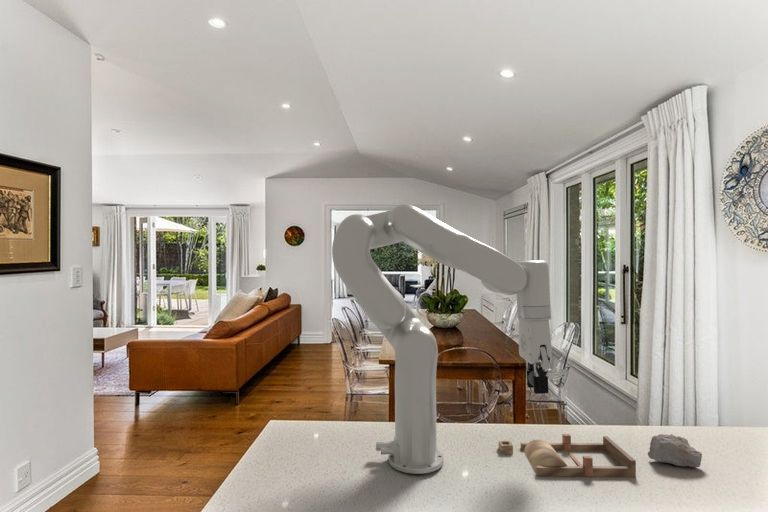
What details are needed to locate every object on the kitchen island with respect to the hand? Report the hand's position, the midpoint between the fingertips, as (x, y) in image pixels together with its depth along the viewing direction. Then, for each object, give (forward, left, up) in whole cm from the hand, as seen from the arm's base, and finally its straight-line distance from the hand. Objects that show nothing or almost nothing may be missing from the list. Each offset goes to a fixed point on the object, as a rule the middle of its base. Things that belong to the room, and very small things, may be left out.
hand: (537, 389), depth 105 cm
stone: (+25, -2, -16) cm, 30 cm away
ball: (0, 0, +1) cm, 1 cm away
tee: (-7, +3, -16) cm, 18 cm away
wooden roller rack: (+9, -2, -16) cm, 19 cm away
